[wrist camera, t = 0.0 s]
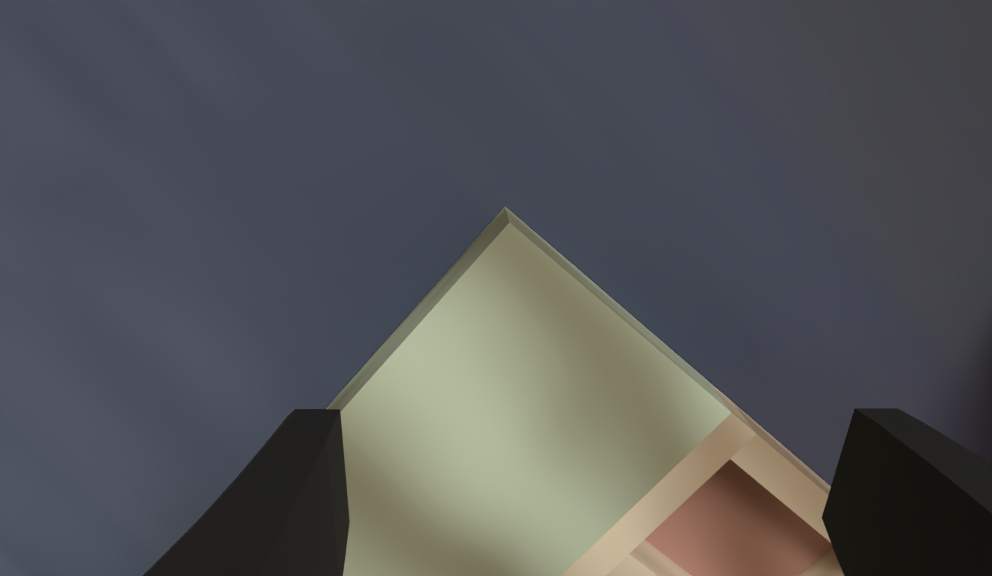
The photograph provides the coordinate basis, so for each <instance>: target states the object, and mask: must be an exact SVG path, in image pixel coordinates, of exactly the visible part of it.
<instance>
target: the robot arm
mask: <svg viewBox="0 0 992 576" xmlns="http://www.w3.org/2000/svg"><path fill="white" fill-rule="evenodd" d="M822 520H823V523H824V525H825V528H826V531H827V533H828V536H829V539H830V541H831V544H832V547H833V549H834V552H835V555H836V557H837V560H838V562H839V564H840V567H841V569H842V572H843V574H844V576H992V465H991V464H990V463H988V462H986V461H985V460H983V459H982V458H980V457H978V456H977V455H975V454H974V453H972V452H970V451H969V450H967V449H966V448H964V447H962V446H961V445H959V444H958V443H956V442H954V441H953V440H951V439H949V438H948V437H946V436H945V435H943V434H941V433H940V432H938V431H936V430H935V429H933V428H931V427H930V426H928V425H926V424H925V423H923V422H921V421H919V420H918V419H916V418H914V417H912V416H910V415H908V414H906V413H905V412H903V411H901V410H899V409H854V413H853V416H852V419H851V423H850V426H849V429H848V432H847V436H846V439H845V442H844V446H843V449H842V452H841V456H840V459H839V462H838V465H837V469H836V472H835V475H834V479H833V482H832V485H831V488H830V492H829V495H828V498H827V502H826V505H825V508H824V511H823V515H822ZM349 523H350V519H349V507H348V495H347V483H346V472H345V460H344V448H343V436H342V425H341V413H340V409H295V410H294V411H293V412H292V413H291V414H290V415H289V416H287V418H286V419H285V420H284V421H283V423H282V424H281V425H280V426H279V428H278V429H277V430H276V431H275V432H274V434H273V435H272V436H271V437H270V439H269V440H268V441H267V442H266V444H265V445H264V446H263V447H262V448H261V450H260V451H259V452H258V453H257V454H256V456H255V457H254V458H253V459H252V460H251V461H250V463H249V464H248V465H247V466H246V467H245V468H244V470H243V471H242V472H241V473H240V474H239V476H238V477H237V478H236V479H235V480H234V481H233V482H232V483H231V485H230V486H229V487H228V488H227V489H226V490H225V491H224V492H223V493H222V494H221V496H220V497H219V498H218V499H217V500H216V501H215V502H214V503H213V504H212V506H211V507H210V508H209V509H208V510H207V511H206V512H205V513H204V514H203V516H202V517H201V518H200V519H199V520H198V521H197V522H196V523H195V524H194V525H193V526H192V527H191V528H190V529H189V530H188V531H187V532H186V533H185V534H184V535H183V536H182V537H181V538H180V539H179V540H178V541H177V542H176V543H175V544H174V545H173V546H172V547H171V548H170V549H169V550H168V551H167V552H166V553H165V554H164V555H163V556H162V557H161V558H160V559H159V560H158V561H157V562H156V563H155V564H154V565H153V566H152V567H151V568H150V569H149V570H148V571H147V572H146V573H145V574H144V575H143V576H343V571H344V564H345V556H346V548H347V540H348V532H349Z"/></svg>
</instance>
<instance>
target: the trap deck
mask: <svg viewBox="0 0 992 576" xmlns="http://www.w3.org/2000/svg"><path fill="white" fill-rule="evenodd" d="M326 409H340V413H341V425H342V436H343V448H344V460H345V472H346V483H347V495H348V507H349V519H350V523H349V532H348V540H347V548H346V556H345V564H344V571H343V576H844V574H843V572H842V569H841V567H840V564H839V562H838V560H837V557H836V555H835V552H834V549H833V547H832V544H831V541H830V539H829V536H828V533H827V531H826V528H825V525H824V523H823V520H822V515H823V511H824V508H825V505H826V502H827V498H828V495H829V492H830V488H831V486H829V485H828V484H827V483H826V482H825V481H824V480H823V479H821V478H820V477H819V476H818V475H817V474H816V473H814V472H813V471H812V470H811V469H810V468H809V467H807V466H806V465H805V464H804V463H803V462H802V461H800V460H799V459H798V458H797V457H796V456H795V455H793V454H792V453H791V452H790V451H789V450H788V449H786V448H785V447H784V446H783V445H782V444H781V443H779V442H778V441H777V440H776V439H775V438H774V437H773V436H771V435H770V434H769V433H768V432H767V431H766V430H764V429H763V428H762V427H761V426H760V425H759V424H757V423H756V422H755V421H754V420H753V419H752V418H750V417H749V416H748V415H747V414H746V413H745V412H743V411H742V410H741V409H740V408H739V407H738V406H736V405H735V404H734V403H733V402H732V401H731V400H730V399H728V398H727V397H726V396H725V395H724V394H723V393H721V392H720V391H719V390H718V389H717V388H716V387H714V386H713V385H712V384H711V383H710V382H709V381H707V380H706V379H705V378H704V377H703V376H702V375H700V374H699V373H698V372H697V371H696V370H695V369H693V368H692V367H691V366H690V365H689V364H688V363H686V362H685V361H684V360H683V359H682V358H681V357H680V356H678V355H677V354H676V353H675V352H674V351H673V350H671V349H670V348H669V347H668V346H667V345H666V344H664V343H663V342H662V341H661V340H660V339H659V338H657V337H656V336H655V335H654V334H653V333H652V332H650V331H649V330H648V329H647V328H646V327H645V326H643V325H642V324H641V323H640V322H639V321H638V320H636V319H635V318H634V317H633V316H632V315H631V314H630V313H628V312H627V311H626V310H625V309H624V308H623V307H621V306H620V305H619V304H618V303H617V302H616V301H614V300H613V299H612V298H611V297H610V296H609V295H607V294H606V293H605V292H604V291H603V290H602V289H600V288H599V287H598V286H597V285H596V284H595V283H593V282H592V281H591V280H590V279H589V278H588V277H587V276H585V275H584V274H583V273H582V272H581V271H580V270H578V269H577V268H576V267H575V266H574V265H573V264H571V263H570V262H569V261H568V260H567V259H566V258H564V257H563V256H562V255H561V254H560V253H559V252H557V251H556V250H555V249H554V248H553V247H552V246H550V245H549V244H548V243H547V242H546V241H545V240H543V239H542V238H541V237H540V236H539V235H538V234H537V233H535V232H534V231H533V230H532V229H531V228H530V227H528V226H527V225H526V224H525V223H524V222H523V221H521V220H520V219H519V218H518V217H517V216H516V215H514V214H513V213H512V212H511V211H510V210H509V209H507V208H506V207H504V208H503V209H502V210H501V211H500V213H499V214H498V215H497V216H496V217H495V218H494V219H493V220H492V222H491V223H490V224H489V225H488V226H487V227H486V228H485V229H484V231H483V232H482V233H481V234H480V235H479V236H478V237H477V239H476V240H475V241H474V242H473V243H472V244H471V245H470V246H469V248H468V249H467V250H466V251H465V252H464V253H463V254H462V256H461V257H460V258H459V259H458V260H457V261H456V262H455V263H454V265H453V266H452V267H451V268H450V269H449V270H448V271H447V272H446V274H445V275H444V276H443V277H442V278H441V279H440V280H439V282H438V283H437V284H436V285H435V286H434V287H433V288H432V289H431V291H430V292H429V293H428V294H427V295H426V296H425V297H424V298H423V300H422V301H421V302H420V303H419V304H418V305H417V306H416V308H415V309H414V310H413V311H412V312H411V313H410V314H409V315H408V317H407V318H406V319H405V320H404V321H403V322H402V323H401V324H400V326H399V327H398V328H397V329H396V330H395V331H394V332H393V334H392V335H391V336H390V337H389V338H388V339H387V340H386V341H385V343H384V344H383V345H382V346H381V347H380V348H379V349H378V351H377V352H376V353H375V354H374V355H373V356H372V357H371V358H370V360H369V361H368V362H367V363H366V364H365V365H364V366H363V367H362V369H361V370H360V371H359V372H358V373H357V374H356V375H355V377H354V378H353V379H352V380H351V381H350V382H349V383H348V384H347V386H346V387H345V388H344V389H343V390H342V391H341V392H340V393H339V395H338V396H337V397H336V398H335V399H334V400H333V401H332V403H331V404H330V405H329V406H328V407H327V408H326Z"/></svg>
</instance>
